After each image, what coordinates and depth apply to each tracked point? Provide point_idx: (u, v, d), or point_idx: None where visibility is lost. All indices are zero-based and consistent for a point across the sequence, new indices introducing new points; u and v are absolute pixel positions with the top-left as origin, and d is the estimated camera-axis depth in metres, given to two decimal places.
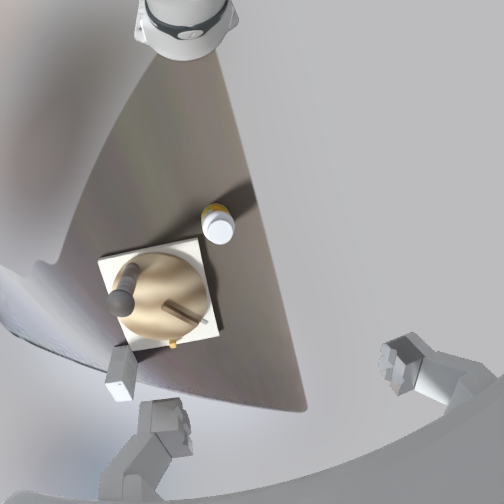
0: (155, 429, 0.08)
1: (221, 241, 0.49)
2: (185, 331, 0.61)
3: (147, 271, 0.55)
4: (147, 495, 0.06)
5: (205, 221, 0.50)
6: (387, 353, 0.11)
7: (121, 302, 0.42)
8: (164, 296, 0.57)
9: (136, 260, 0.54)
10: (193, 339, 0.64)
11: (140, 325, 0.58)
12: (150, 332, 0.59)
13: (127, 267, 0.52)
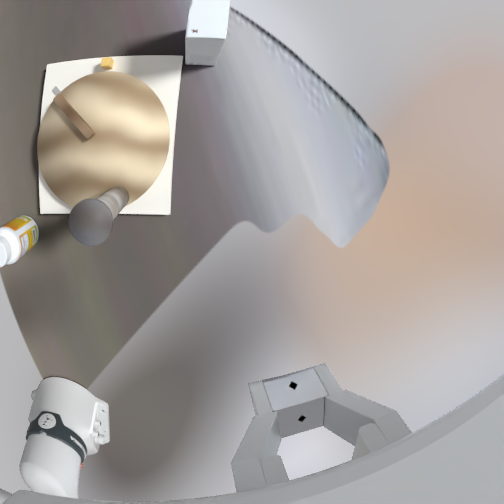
0: (276, 407, 0.09)
1: None
2: (79, 83, 0.31)
3: (98, 190, 0.36)
4: None
5: (16, 257, 0.33)
6: None
7: (86, 226, 0.26)
8: (87, 147, 0.34)
9: None
10: (80, 62, 0.31)
11: (139, 104, 0.34)
12: (129, 90, 0.33)
13: None
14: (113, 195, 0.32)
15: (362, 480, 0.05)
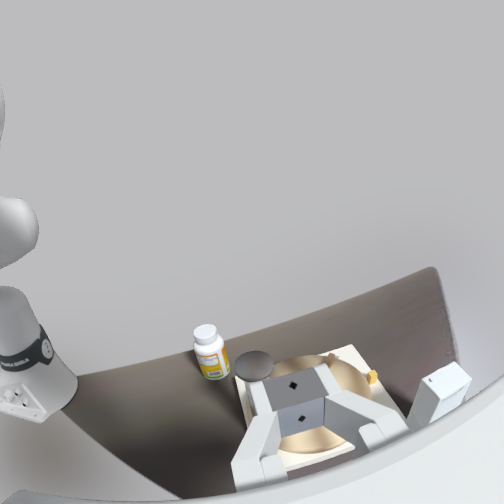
0: (276, 407, 0.09)
1: (213, 329, 0.51)
2: (348, 366, 0.46)
3: None
4: None
5: (199, 350, 0.49)
6: None
7: (249, 362, 0.34)
8: None
9: None
10: (363, 363, 0.48)
11: None
12: None
13: None
14: None
15: (362, 480, 0.05)
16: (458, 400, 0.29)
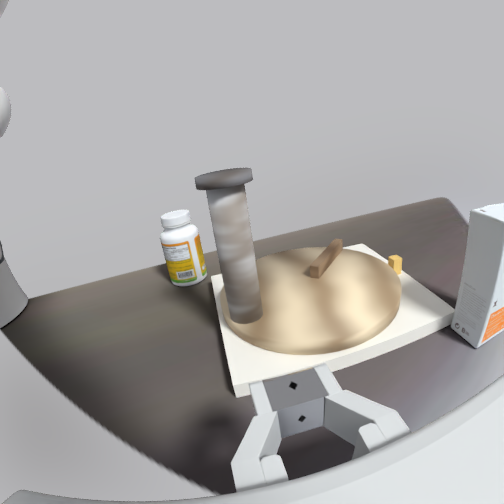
0: (276, 407, 0.09)
1: (185, 211, 0.41)
2: (361, 254, 0.36)
3: None
4: None
5: (166, 237, 0.39)
6: None
7: (217, 173, 0.23)
8: (299, 278, 0.33)
9: (227, 311, 0.29)
10: (380, 258, 0.38)
11: (375, 294, 0.28)
12: (383, 282, 0.29)
13: (227, 299, 0.27)
14: (253, 257, 0.25)
15: (362, 480, 0.05)
16: None
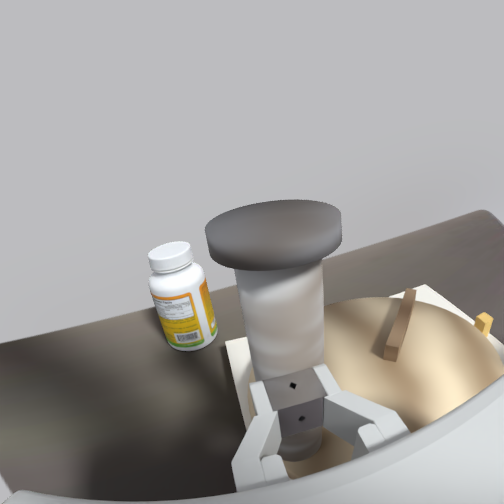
0: (277, 407, 0.09)
1: (184, 246, 0.27)
2: (441, 312, 0.23)
3: None
4: None
5: (157, 287, 0.26)
6: None
7: (259, 216, 0.10)
8: (366, 360, 0.20)
9: None
10: (455, 309, 0.25)
11: (477, 391, 0.14)
12: (483, 366, 0.16)
13: None
14: None
15: (362, 480, 0.05)
16: None
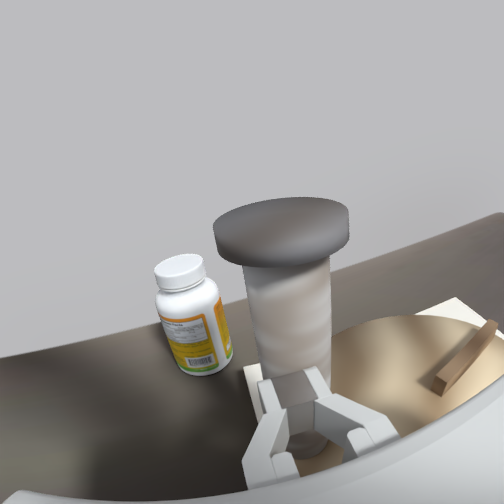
0: (285, 404, 0.09)
1: (196, 260, 0.24)
2: None
3: None
4: None
5: (166, 307, 0.23)
6: None
7: (272, 211, 0.10)
8: (414, 385, 0.16)
9: None
10: None
11: None
12: None
13: None
14: None
15: (362, 480, 0.05)
16: None
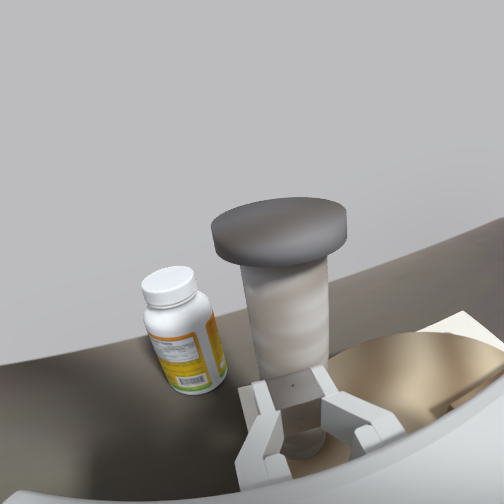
0: (279, 406, 0.09)
1: (186, 274, 0.22)
2: None
3: None
4: None
5: (154, 325, 0.20)
6: None
7: (274, 210, 0.10)
8: (428, 409, 0.14)
9: None
10: (498, 342, 0.19)
11: None
12: None
13: None
14: None
15: (362, 480, 0.05)
16: None
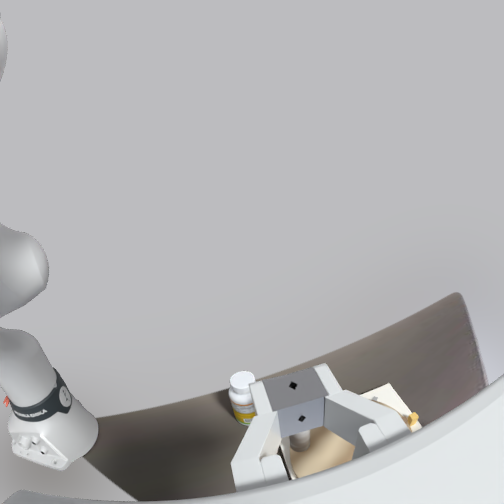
0: (276, 407, 0.09)
1: (251, 377, 0.46)
2: None
3: (314, 433, 0.40)
4: None
5: (237, 400, 0.44)
6: None
7: None
8: None
9: None
10: (402, 403, 0.43)
11: None
12: None
13: None
14: None
15: (362, 480, 0.05)
16: None
